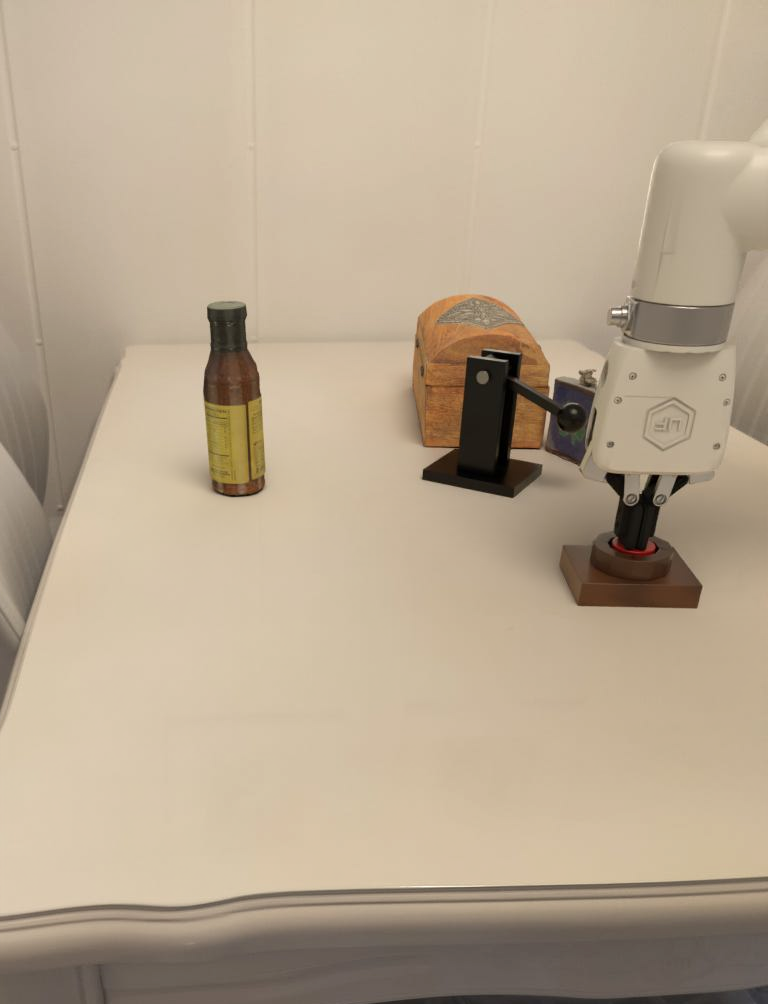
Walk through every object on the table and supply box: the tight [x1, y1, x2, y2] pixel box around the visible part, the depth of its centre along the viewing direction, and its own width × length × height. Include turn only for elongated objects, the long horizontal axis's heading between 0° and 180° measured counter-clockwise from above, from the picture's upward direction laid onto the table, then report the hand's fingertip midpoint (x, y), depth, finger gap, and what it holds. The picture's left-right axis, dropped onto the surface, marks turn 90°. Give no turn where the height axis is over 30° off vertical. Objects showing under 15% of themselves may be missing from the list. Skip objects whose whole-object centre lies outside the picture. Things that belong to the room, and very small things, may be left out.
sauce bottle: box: [202, 300, 266, 496], centre depth 98 cm, size 6×6×20 cm
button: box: [611, 537, 655, 556], centre depth 80 cm, size 4×4×2 cm
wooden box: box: [412, 294, 551, 449], centre depth 124 cm, size 30×16×14 cm, turn 175°
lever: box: [486, 354, 588, 434], centre depth 99 cm, size 13×3×3 cm, turn 57°
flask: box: [545, 368, 599, 466], centre depth 109 cm, size 9×3×11 cm, turn 24°
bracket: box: [421, 349, 543, 499], centre depth 103 cm, size 11×9×14 cm
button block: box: [558, 530, 703, 609], centre depth 80 cm, size 10×8×4 cm
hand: (631, 543), depth 79 cm, fingers closed
